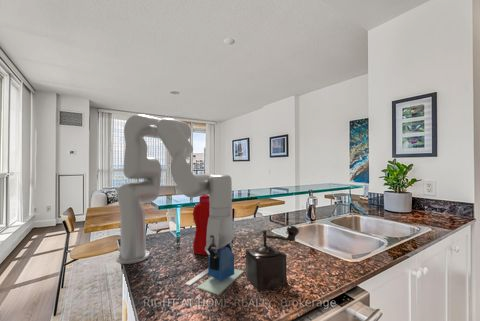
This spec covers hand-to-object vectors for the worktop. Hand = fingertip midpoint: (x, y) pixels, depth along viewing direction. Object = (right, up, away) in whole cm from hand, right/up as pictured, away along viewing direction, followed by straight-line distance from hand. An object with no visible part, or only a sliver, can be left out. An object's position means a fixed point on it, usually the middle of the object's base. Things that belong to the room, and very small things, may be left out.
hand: (221, 264), depth 76 cm
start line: (-7, -5, +4) cm, 9 cm away
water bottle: (-10, -6, +25) cm, 27 cm away
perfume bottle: (0, -4, 0) cm, 4 cm away
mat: (0, -5, 0) cm, 5 cm away
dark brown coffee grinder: (+17, -5, 0) cm, 18 cm away
